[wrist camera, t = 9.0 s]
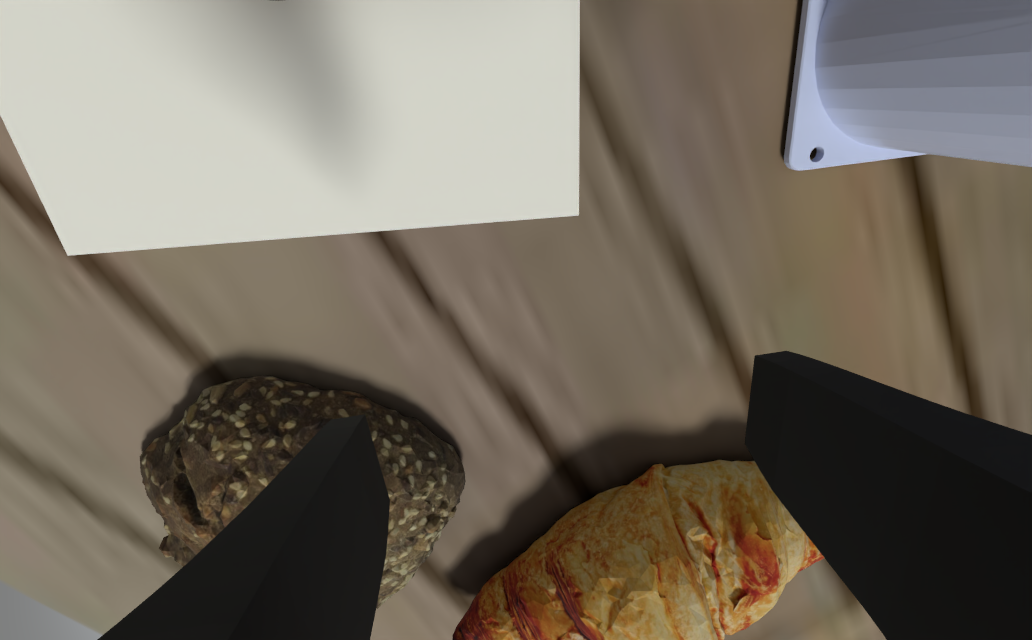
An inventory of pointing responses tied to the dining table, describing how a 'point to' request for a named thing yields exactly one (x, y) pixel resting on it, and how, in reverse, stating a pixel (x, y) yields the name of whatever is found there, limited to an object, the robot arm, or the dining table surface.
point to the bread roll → (273, 444)
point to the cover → (290, 115)
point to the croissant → (651, 562)
